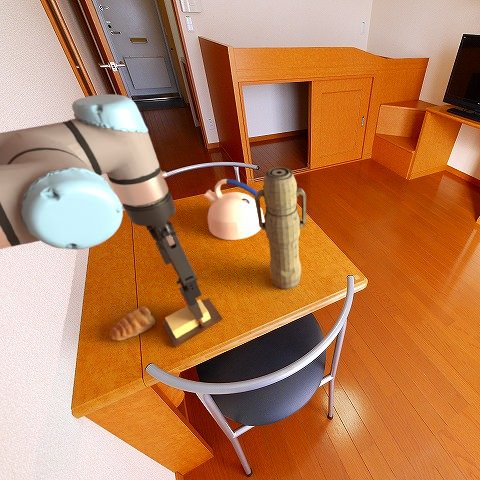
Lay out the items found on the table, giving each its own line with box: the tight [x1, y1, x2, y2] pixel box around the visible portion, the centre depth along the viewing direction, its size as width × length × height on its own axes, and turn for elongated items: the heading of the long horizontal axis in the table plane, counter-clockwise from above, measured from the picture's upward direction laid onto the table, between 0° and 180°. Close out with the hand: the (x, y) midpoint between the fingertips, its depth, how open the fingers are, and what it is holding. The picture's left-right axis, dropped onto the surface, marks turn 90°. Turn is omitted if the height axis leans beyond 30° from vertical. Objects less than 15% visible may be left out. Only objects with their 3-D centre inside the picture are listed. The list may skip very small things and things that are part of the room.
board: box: [162, 297, 223, 348], centre depth 70 cm, size 12×8×1 cm, turn 131°
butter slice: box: [196, 298, 211, 323], centre depth 70 cm, size 2×5×3 cm, turn 41°
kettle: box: [203, 178, 265, 241], centre depth 97 cm, size 20×21×18 cm
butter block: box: [164, 305, 200, 338], centre depth 68 cm, size 6×5×3 cm
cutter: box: [178, 286, 204, 327], centre depth 68 cm, size 2×7×9 cm, turn 41°
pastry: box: [109, 306, 156, 342], centre depth 68 cm, size 9×7×4 cm
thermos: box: [254, 166, 307, 291], centre depth 72 cm, size 9×12×35 cm
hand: (182, 278), depth 61 cm, fingers open, 13 cm apart
